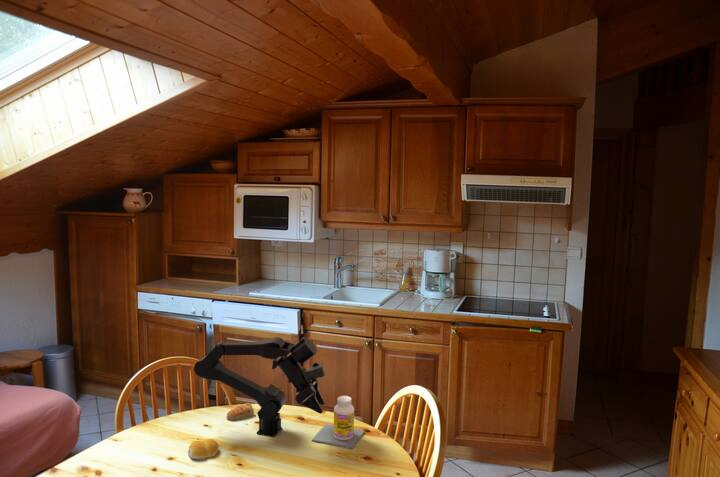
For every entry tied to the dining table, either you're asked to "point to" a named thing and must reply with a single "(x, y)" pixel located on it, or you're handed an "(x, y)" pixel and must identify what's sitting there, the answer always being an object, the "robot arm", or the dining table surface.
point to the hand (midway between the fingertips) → (322, 408)
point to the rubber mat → (328, 438)
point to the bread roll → (203, 449)
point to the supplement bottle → (343, 418)
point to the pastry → (241, 412)
